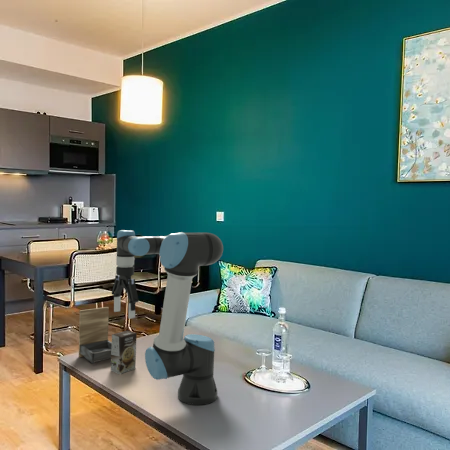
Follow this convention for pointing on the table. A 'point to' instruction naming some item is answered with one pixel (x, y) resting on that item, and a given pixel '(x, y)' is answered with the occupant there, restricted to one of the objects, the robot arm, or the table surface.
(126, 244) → the robot arm
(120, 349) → the coffee box
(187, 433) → the table surface
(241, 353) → the table surface
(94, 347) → the grey and wood box
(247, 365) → the table surface
